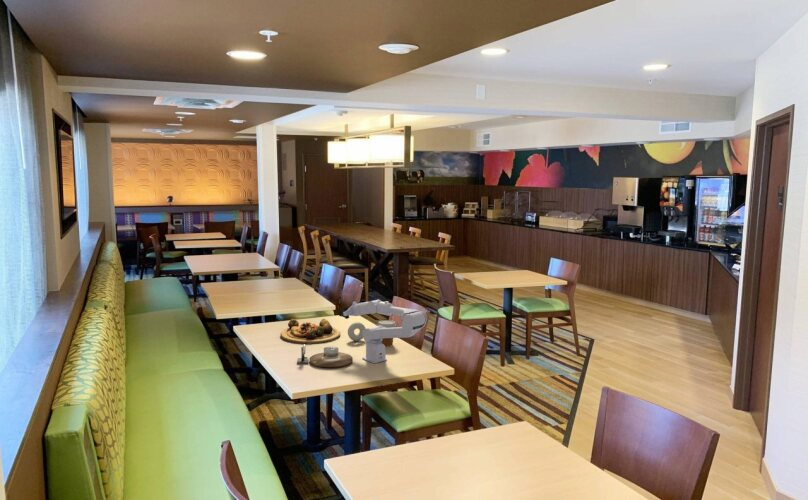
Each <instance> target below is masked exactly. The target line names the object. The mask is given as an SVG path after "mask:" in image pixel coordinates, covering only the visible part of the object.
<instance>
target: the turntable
mask: <svg viewBox="0 0 808 500" xmlns="http://www.w3.org/2000/svg"><path fill="white" fill-rule="evenodd" d="M353 361H354V360H353V356H352V355H351V354H349V353H345V352H340V351H338V356H335V357H326V356H324V352H319V353H316V354H312V355H311V356H310V357H309V364H310V365H312V366H315V367H319V368H341V367H345V366H348V365H350V364H351V363H353Z"/></svg>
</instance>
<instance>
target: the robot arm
mask: <svg viewBox="0 0 808 500" xmlns="http://www.w3.org/2000/svg"><path fill="white" fill-rule="evenodd" d="M337 313H338V317H342V318H344V319H345V320H348V319H350V317H351V316H353V317H358V316H364V315H369V314H372V315H374V314H379V315H385V316H392V315H395V316H399V317H401V319H400V320H401V322H402V324H401V326H395V327H392V328H386V327H382V326H380V325H379V326H378V325H376V326H372V327H369V328H366V329H364V330H363V340H364V342H365V356H363V357H361V359H362V360H365V361H366V362H370V363H372V364H378V363H382V362H385V361H387V360H388V359H387V357H386V355H387V354H386V352H387V351H386V350H387V348H386V346H385V345H384V344H382V342H381V341H382V338H393V339H399V338H400V339H401V338H402V339H406V338H410V337H414V336H415V335H416V334H417V333H418V332H419V331H420V330H421V329H423V328H424V327H425V326H426V323H427V320H428V317H427V315H426V313H425V312H424V311H423V310H418V309H414V308H406V307H398V306H394V304H393V303H392V302H390V301H386V300H385V301H382V300H381V299H375V300H370V301H365V302H362V301H359V302H357V301H352V305H351V306H350V307H347V306H344V307H343V308H342V309H341V310H339V311H337Z"/></svg>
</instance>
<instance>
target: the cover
mask: <svg viewBox="0 0 808 500" xmlns="http://www.w3.org/2000/svg"><path fill="white" fill-rule="evenodd" d="M338 352H339V347H337V346H326V347H323V353H324V356H326V357H335V356H338Z"/></svg>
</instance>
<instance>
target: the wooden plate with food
mask: <svg viewBox="0 0 808 500" xmlns="http://www.w3.org/2000/svg"><path fill="white" fill-rule="evenodd" d="M340 336H341V332H340V330H339V329H338V328H336V327H334V326H332V324H331V323H330V321H329V320H328V319H326V318H322V319H321V320H320V322H319V324H316V323H311V322H309V321H307V322H302V323H301V324H300V323H299V321H298V320H297V319H295V318H292V319H290V320H289V322H288V323H287V327H286V328H285V329H283V330H282V331H281V332H280V337H281V339H282V340H283V341H285V342H288V343H291V344H298V345H300V344H301V345H303V344H305V345H315V344H316V345H317V344H324V343H330V342H333V341H335V340H337V339H339V338H340Z"/></svg>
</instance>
